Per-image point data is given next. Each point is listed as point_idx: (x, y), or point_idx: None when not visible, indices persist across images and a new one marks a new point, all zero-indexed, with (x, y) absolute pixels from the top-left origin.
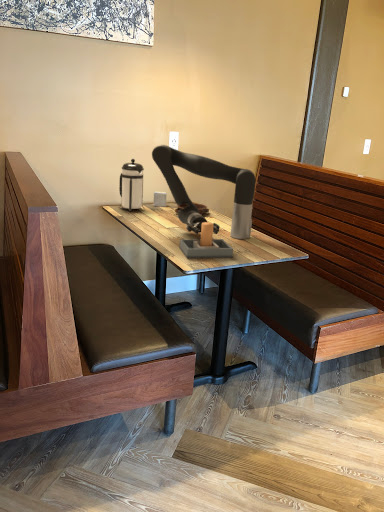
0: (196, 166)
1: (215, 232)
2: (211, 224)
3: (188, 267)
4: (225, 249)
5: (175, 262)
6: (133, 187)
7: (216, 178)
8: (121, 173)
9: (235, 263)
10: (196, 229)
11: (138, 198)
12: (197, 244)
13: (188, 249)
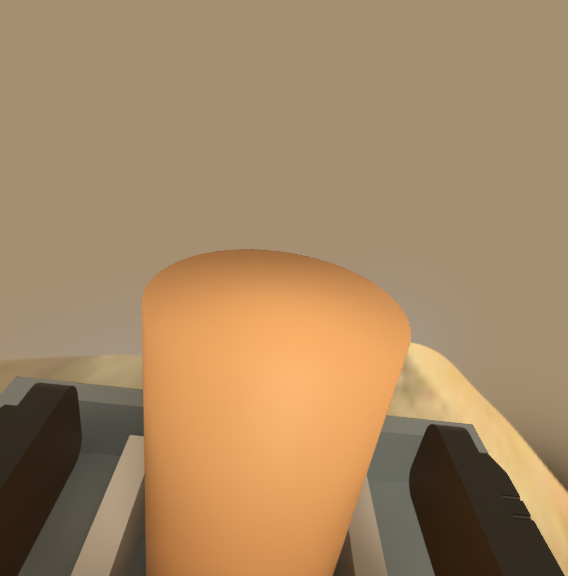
0: None
1: (70, 449)
2: (214, 268)
3: (421, 362)
4: (100, 389)
5: (514, 430)
6: None
7: None
8: None
9: (109, 356)
10: (474, 459)
11: None
12: (368, 561)
13: (463, 425)
